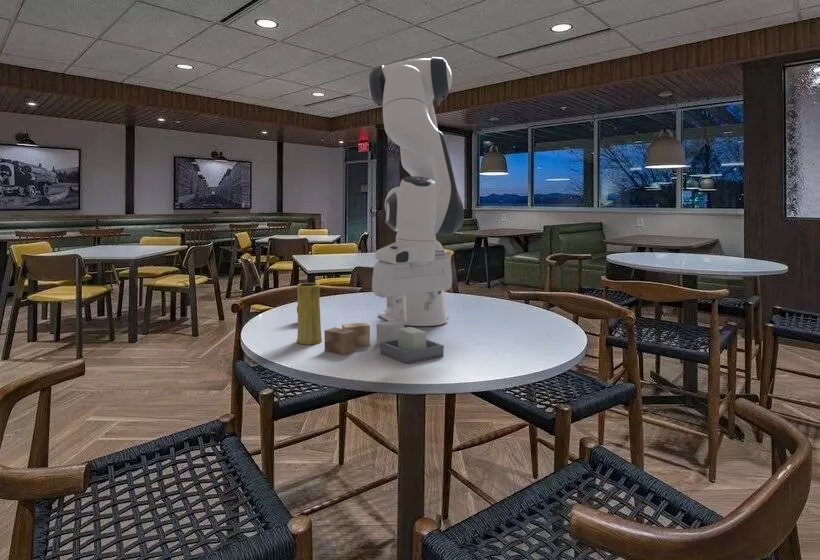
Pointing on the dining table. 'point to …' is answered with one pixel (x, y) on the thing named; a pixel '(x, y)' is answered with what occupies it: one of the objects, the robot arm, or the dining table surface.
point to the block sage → (411, 339)
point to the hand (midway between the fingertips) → (412, 312)
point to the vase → (308, 314)
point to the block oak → (359, 333)
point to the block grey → (388, 330)
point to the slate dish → (411, 356)
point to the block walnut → (339, 341)
